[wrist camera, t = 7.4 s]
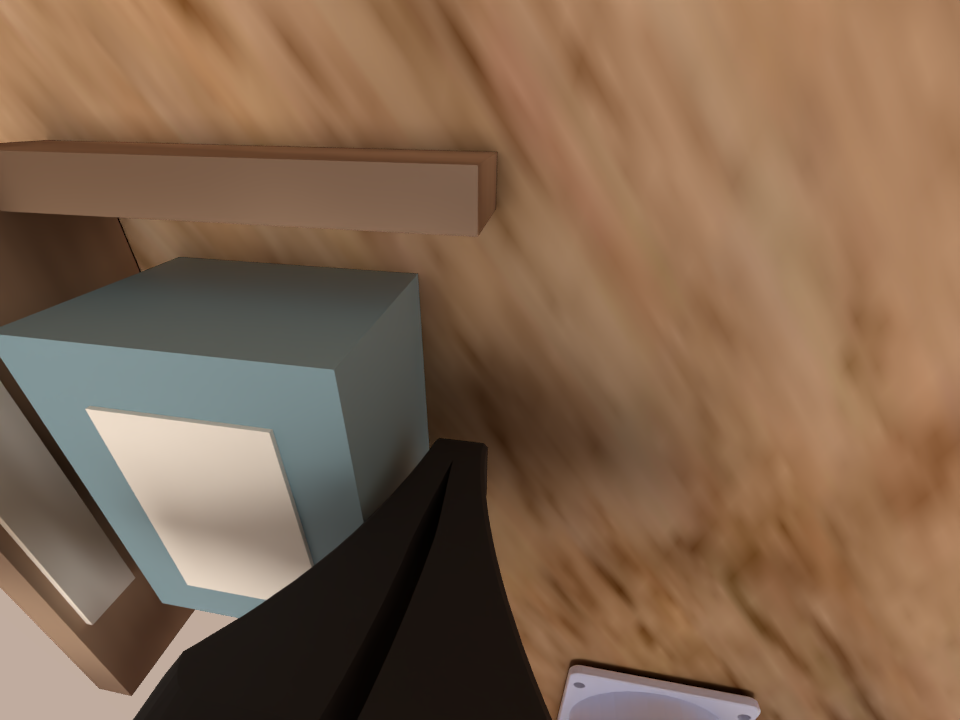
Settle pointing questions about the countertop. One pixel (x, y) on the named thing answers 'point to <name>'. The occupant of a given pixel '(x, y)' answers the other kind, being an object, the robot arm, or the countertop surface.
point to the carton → (231, 414)
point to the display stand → (107, 259)
